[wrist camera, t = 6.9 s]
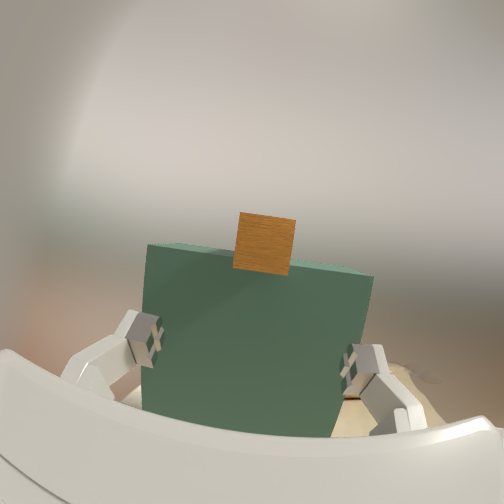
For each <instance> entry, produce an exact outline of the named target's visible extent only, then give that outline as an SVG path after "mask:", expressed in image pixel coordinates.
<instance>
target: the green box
mask: <svg viewBox="0 0 504 504" xmlns="http://www.w3.org/2000/svg"><path fill="white" fill-rule="evenodd" d="M234 253H235V251H230V250H223V249H216V248H209V247H202V246H195V245H188V244H181V243H176V244H148V246H147V255H146V265H145V276H144V288H143V304H142V312H143V313H147V314H151V315H155V316H159V317H162V321H163V323H162V326H161V327H162V328H163V329H164V332H165V339H164V344H163V346H162V349H161V350H159V351H158V352H157V354H158V359H157V361H156V364H155V366H154V368H150V367H146V366H142V365H141V391H142V410H144V411H148V412H151V413H155V414H158V415H162V416H165V417H169V418H173V419H177V420H181V421H185V422H190V423H194V424H199V425H204V426H209V427H214V428H220V429H226V430H232V431H239V432H246V433H254V434H263V435H274V436H288V437H314V438H330V436H331V434H332V431H333V429H334V426H335V423H336V420H337V418H338V415H339V412H340V409H341V406H342V403H343V400H344V397H345V395H342V390H341V381H342V380H343V377H342V376H341V375H340V371H339V366H340V361H341V358H342V356H343V354H345V353H347V347H348V345H349V344H350V343H355V344H360V341H361V337H362V333H363V329H364V324H365V320H366V315H367V311H368V306H369V301H370V296H371V290H372V285H373V279H374V276H371V275H368V274H365V273H362V272H359V271H356V270H353V269H349V268H346V267H343V266H336V265H329V264H322V263H315V262H308V261H301V260H294V259H290V266H289V272H288V276H287V275H279V274H272V273H265V272H258V271H251V270H244V269H237V268H233V260H234Z"/></svg>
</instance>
